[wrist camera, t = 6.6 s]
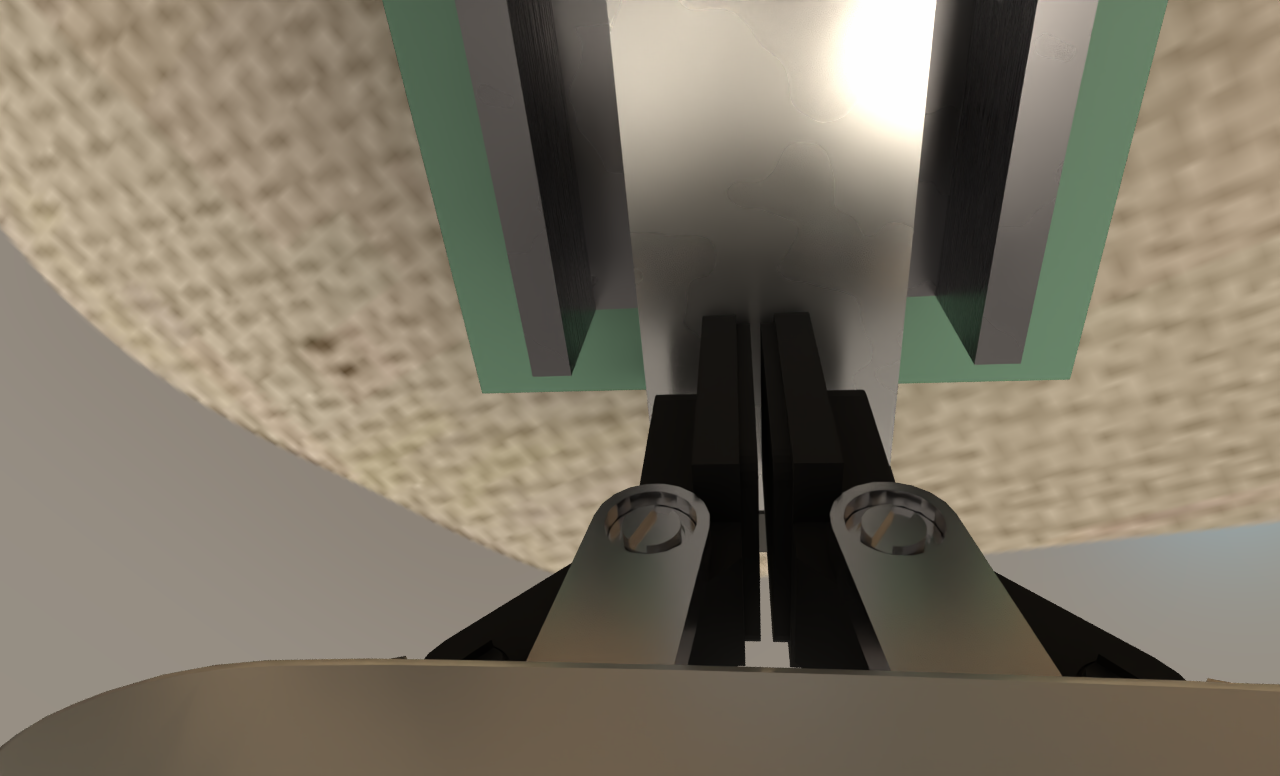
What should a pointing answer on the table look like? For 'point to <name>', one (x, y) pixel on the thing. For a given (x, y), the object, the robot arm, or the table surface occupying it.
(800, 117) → the clamp bar
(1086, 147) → the heat sink board
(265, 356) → the table surface
